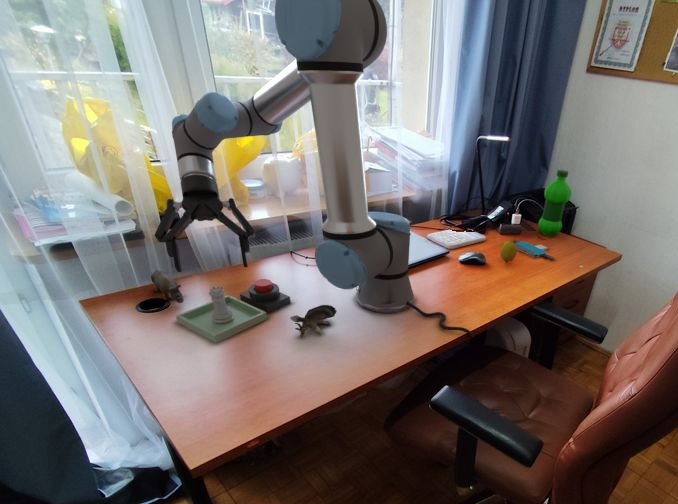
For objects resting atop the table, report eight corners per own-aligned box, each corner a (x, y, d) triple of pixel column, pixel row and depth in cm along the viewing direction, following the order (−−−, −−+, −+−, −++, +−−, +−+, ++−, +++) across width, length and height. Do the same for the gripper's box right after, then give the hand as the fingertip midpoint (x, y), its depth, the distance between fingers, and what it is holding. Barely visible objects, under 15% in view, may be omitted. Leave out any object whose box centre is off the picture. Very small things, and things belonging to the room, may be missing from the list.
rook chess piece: (237, 316, 99) (231, 285, 94) (227, 325, 95) (220, 294, 91) (219, 313, 99) (212, 283, 94) (208, 323, 95) (200, 291, 91)
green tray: (267, 319, 100) (266, 312, 99) (216, 343, 90) (214, 336, 89) (230, 301, 104) (228, 294, 103) (177, 322, 95) (175, 315, 94)
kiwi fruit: (516, 262, 145) (521, 240, 141) (510, 267, 141) (514, 244, 137) (502, 258, 147) (506, 236, 143) (495, 262, 143) (499, 240, 139)
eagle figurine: (319, 341, 92) (344, 318, 98) (299, 315, 89) (326, 293, 95) (301, 345, 97) (325, 323, 103) (281, 321, 94) (307, 300, 100)
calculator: (425, 238, 156) (425, 233, 155) (462, 230, 168) (463, 225, 167) (449, 250, 148) (450, 245, 147) (486, 240, 161) (487, 236, 159)
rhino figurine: (174, 311, 98) (167, 288, 95) (152, 290, 105) (144, 268, 102) (193, 306, 101) (186, 284, 97) (169, 286, 108) (163, 264, 104)
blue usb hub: (563, 257, 154) (565, 253, 153) (542, 262, 148) (543, 258, 147) (525, 239, 167) (526, 235, 166) (504, 243, 160) (504, 239, 159)
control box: (290, 303, 107) (289, 289, 104) (268, 313, 102) (266, 299, 99) (263, 291, 110) (261, 277, 108) (240, 301, 105) (238, 286, 103)
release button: (276, 289, 105) (274, 282, 104) (262, 294, 102) (261, 287, 101) (265, 284, 106) (263, 277, 105) (251, 289, 103) (250, 282, 102)
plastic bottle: (564, 238, 173) (581, 174, 159) (542, 238, 170) (557, 173, 156) (553, 229, 181) (568, 168, 167) (531, 229, 178) (545, 167, 164)
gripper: (257, 190, 106) (271, 268, 104) (140, 191, 96) (153, 277, 94) (255, 173, 99) (270, 257, 97) (129, 172, 89) (143, 265, 87)
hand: (213, 267), depth 95 cm, fingers open, 13 cm apart
